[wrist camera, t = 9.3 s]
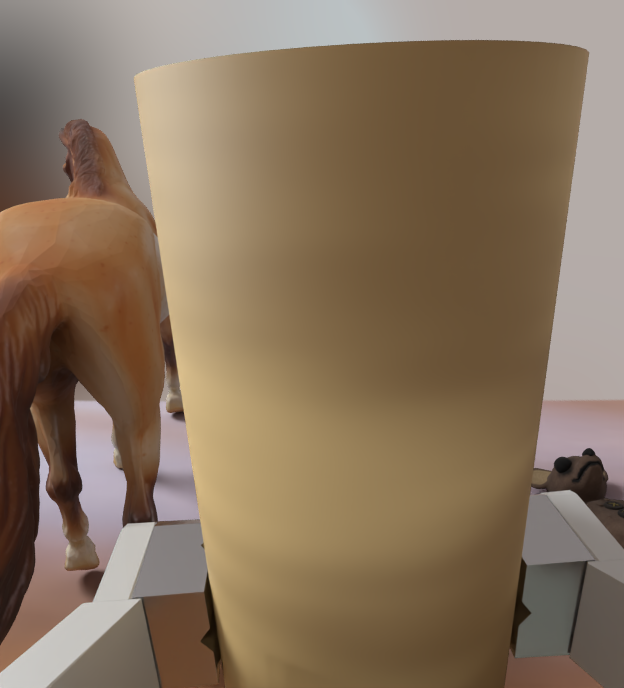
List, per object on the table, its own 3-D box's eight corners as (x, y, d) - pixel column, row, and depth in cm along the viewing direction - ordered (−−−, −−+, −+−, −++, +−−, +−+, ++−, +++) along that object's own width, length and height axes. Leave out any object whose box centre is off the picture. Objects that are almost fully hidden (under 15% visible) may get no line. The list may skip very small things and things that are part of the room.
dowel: (343, 1190, 9) (271, 24, 3) (235, 911, 13) (87, 91, 6) (506, 985, 12) (688, 52, 5) (377, 793, 15) (380, 90, 8)
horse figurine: (116, 395, 44) (61, 122, 36) (212, 385, 45) (179, 117, 37) (-98, 891, 15) (-581, 65, 7) (185, 834, 16) (13, 50, 8)
